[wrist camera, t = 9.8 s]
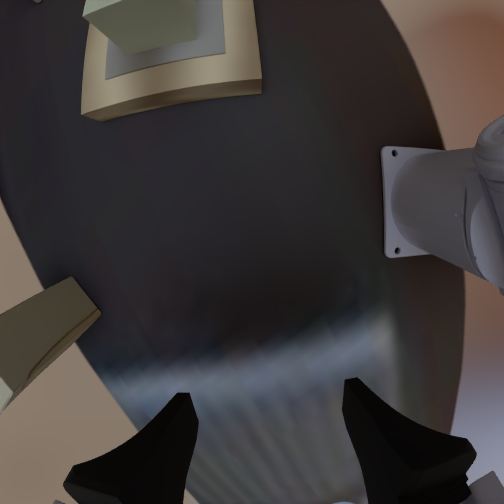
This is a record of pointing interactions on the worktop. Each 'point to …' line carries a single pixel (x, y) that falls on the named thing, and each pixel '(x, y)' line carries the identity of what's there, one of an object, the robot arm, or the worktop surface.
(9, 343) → the skincare box
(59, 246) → the worktop surface
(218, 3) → the base block
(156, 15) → the green block
